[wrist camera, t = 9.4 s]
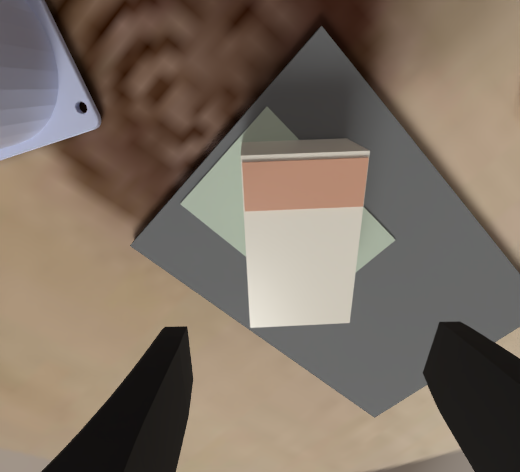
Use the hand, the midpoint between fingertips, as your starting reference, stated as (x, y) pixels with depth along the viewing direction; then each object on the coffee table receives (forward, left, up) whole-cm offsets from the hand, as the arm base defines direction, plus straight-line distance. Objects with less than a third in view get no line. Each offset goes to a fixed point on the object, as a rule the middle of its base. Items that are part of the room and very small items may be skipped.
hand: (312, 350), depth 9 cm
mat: (+5, +3, -9) cm, 11 cm away
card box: (0, +1, -9) cm, 9 cm away
